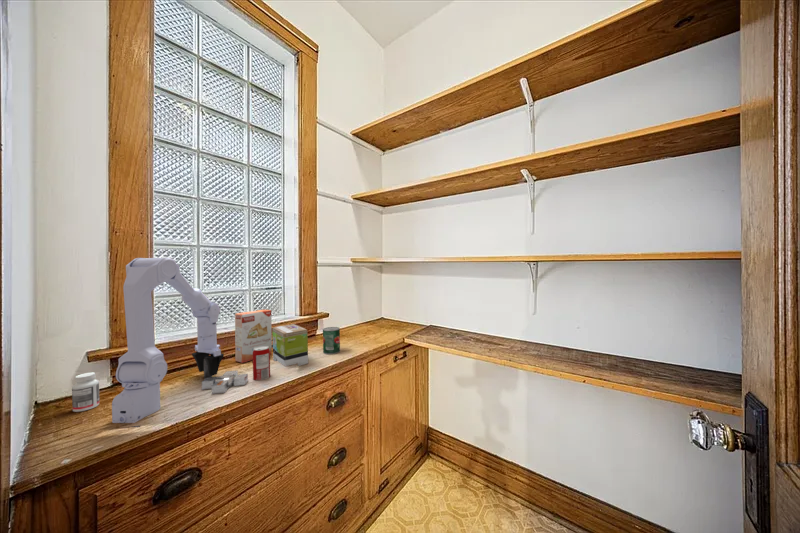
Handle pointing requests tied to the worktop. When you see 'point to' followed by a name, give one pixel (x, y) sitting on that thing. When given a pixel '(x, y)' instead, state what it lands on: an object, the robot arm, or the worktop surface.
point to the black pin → (206, 370)
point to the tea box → (290, 345)
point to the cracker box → (252, 333)
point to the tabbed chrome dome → (224, 381)
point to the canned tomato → (331, 340)
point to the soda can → (261, 363)
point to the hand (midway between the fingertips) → (208, 373)
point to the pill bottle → (85, 392)
